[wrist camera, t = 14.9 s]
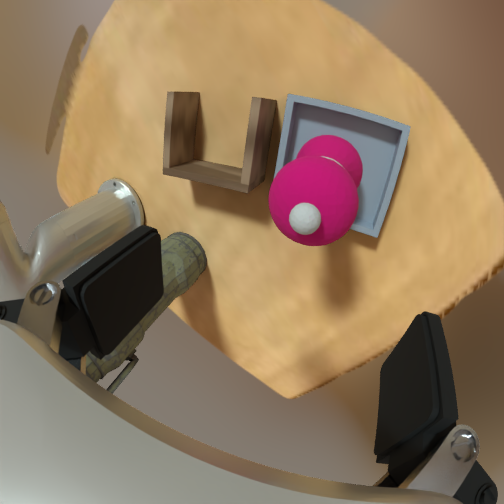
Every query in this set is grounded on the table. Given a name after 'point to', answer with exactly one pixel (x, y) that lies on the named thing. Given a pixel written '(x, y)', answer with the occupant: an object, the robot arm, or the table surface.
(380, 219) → the slate tray
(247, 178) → the walnut bay
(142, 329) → the olive piece
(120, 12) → the table surface
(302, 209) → the pepper mill
